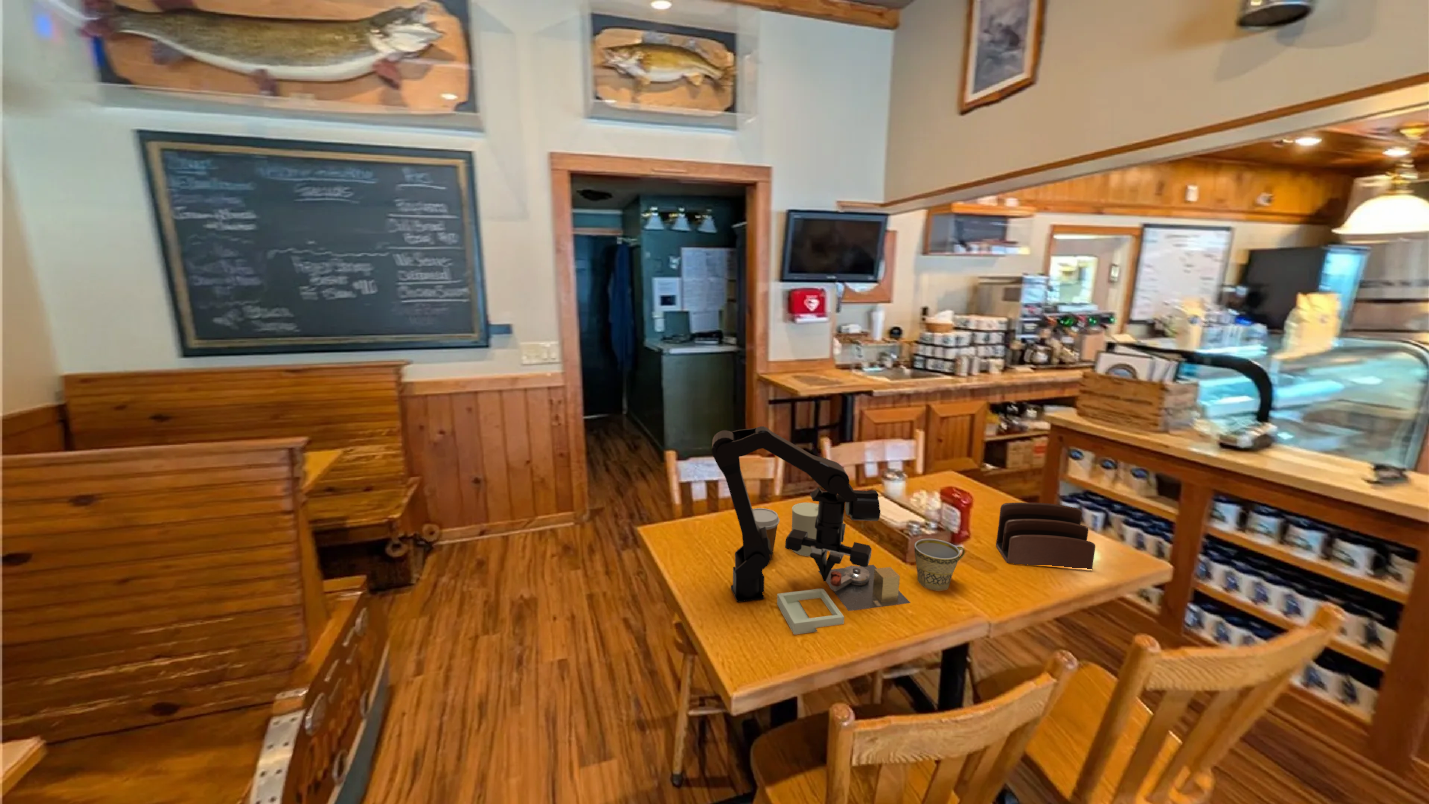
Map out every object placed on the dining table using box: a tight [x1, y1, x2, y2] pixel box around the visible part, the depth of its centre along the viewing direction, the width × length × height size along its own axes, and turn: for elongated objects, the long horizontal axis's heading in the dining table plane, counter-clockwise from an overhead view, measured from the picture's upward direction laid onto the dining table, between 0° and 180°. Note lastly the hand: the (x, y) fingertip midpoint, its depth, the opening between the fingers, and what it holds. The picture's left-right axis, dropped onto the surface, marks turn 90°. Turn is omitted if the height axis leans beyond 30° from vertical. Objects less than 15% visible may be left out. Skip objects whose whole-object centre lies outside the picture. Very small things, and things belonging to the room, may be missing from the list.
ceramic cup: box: [913, 538, 966, 592], centre depth 126 cm, size 13×10×10 cm
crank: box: [829, 565, 869, 592], centre depth 126 cm, size 12×6×4 cm, turn 129°
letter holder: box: [995, 501, 1096, 570], centre depth 139 cm, size 10×20×14 cm, turn 78°
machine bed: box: [818, 564, 911, 612], centre depth 125 cm, size 15×17×2 cm
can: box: [791, 502, 819, 557], centre depth 144 cm, size 9×9×12 cm
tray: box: [776, 588, 845, 636], centre depth 115 cm, size 11×11×3 cm
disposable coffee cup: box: [752, 507, 780, 561], centre depth 140 cm, size 10×10×12 cm
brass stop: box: [873, 566, 901, 602], centre depth 121 cm, size 4×4×6 cm
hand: (825, 580), depth 123 cm, fingers closed
